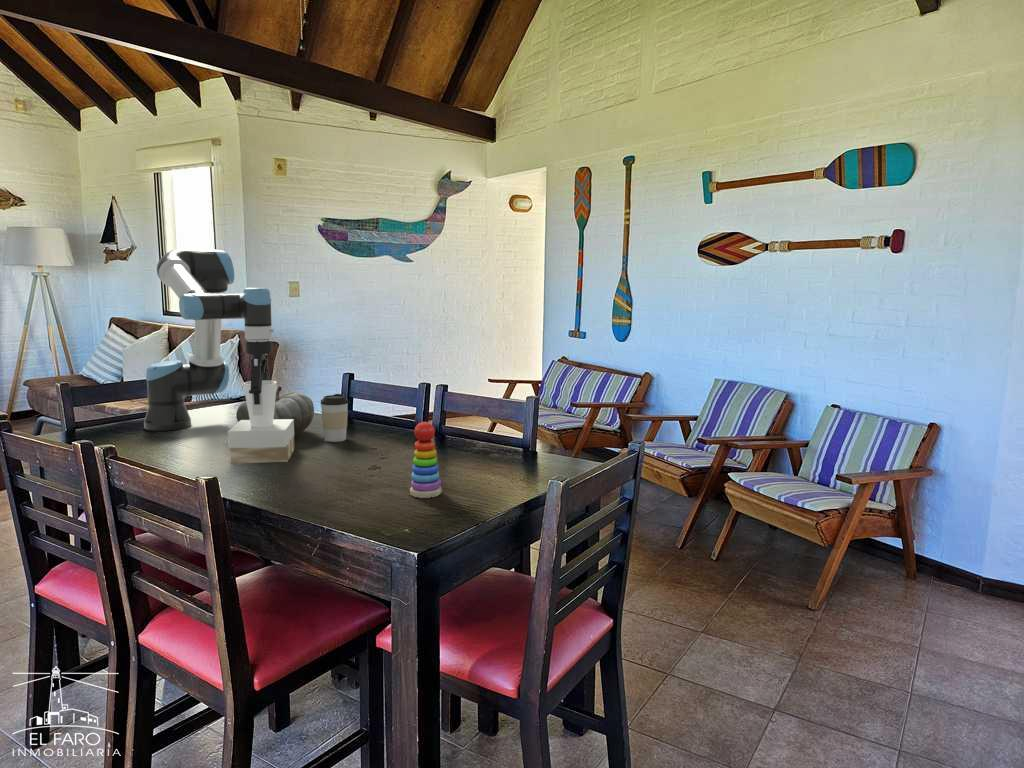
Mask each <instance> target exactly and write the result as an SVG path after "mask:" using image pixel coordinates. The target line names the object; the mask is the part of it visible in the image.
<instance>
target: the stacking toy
mask: <svg viewBox="0 0 1024 768" xmlns="http://www.w3.org/2000/svg"><path fill="white" fill-rule="evenodd" d="M413 433H414V436H415V438H416V439H417V441H415V442H414V448H415V450H414V452H413V453H414V457H413V460H412V462H413V465H412V468H411V469H412V473H411V474H410V476H411V479H412V480H411V482H410V485H411V487H410V489H409V493H410V495H411V496H413V497H414V498H417V497H418V499H430V498H431V497H432V498H435V497H438V496H439V495H441V494H442V492H443V491H442V487H441V484H442V480H441V479H440V478H439V477H440V473H439V471H438V470H439V465H438V464H437V463H438V458H437V450H436V448H435V446H436V443H435V441H434V440H432V439H433V438H434V436H435V434H436V430H435V426H434V425H433V424H432V423H430V422H427V421H422V422H418V423H417V425H416V426H415V427H414V430H413Z"/></svg>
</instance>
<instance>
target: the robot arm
mask: <svg viewBox="0 0 1024 768" xmlns="http://www.w3.org/2000/svg"><path fill="white" fill-rule="evenodd" d="M232 260H233V259H232V258H231V256H230V254H229V253H228V252H227V251H225V250H220V249H203V248H202V249H199V248H193V249H192V248H191V249H190V248H176V249H173V250H170V251H168V252H167V253H165V254H163V255H162V257H160V259H159V260H158V262H157V264H156V273H157V276H158V278H159V280H160V281H161V283H163V284H164V285H165V286H167V287H169V288H170V289H171V290H172V291H173V293H174V294H175V295H176V296H177V297H178V299H179V300H178V309H179V312H180V316H181V318H182V319H183V320H187V321H188V320H190V321H192V320H193V321H194V343H193V345H194V346H193V347H194V348H193V354H192V355H190V357H189V358H188V359H189V360H188V362H189V363H184V362H183V361H182V360H179V359H178V360H177V359H176V360H166V361H160V362H155V363H153V364H150V365H149V366H147V368H146V371H145V373H146V374H145V375H146V376H145V377H146V378H145V380H146V388H147V389H146V390H147V391H146V392H147V404H148V406H147V411H146V415H145V418H144V420H143V426H144V427H143V429H145V430H147V431H152V432H157V431H158V432H163V431H175V430H181V429H185V428H189V427H190V426H192V418H191V416H190V414H189V412H188V408H187V406H186V404H185V397H191V396H203V395H214V394H220V393H223V392H225V390H226V389H227V388H228V385H229V382H230V368H229V364H228V363H227V362H226V361H225V359H224V358H223V356H221V355H220V354H221V338H222V337H221V336H222V335H221V334H222V320H239V319H243V320H244V321H243V322H244V339H245V340H246V341H245V353H246V354H247V355H253V358H251V360H250V362H251V365H250V366H251V369H250V372H251V373H250V381H251V389H250V390H249V394H252V405H253V415H263V399H262V393H261V392H262V391H261V389H262V380H269V381H271V376H270V370H269V369H270V368H269V361H268V360H269V359H268V356H269V355H270V354H272V353H273V350H274V348H273V341H272V339H273V333H274V332H275V330H274V328H272V327H273V326H272V299H271V297H272V296H271V291H270V289H269V288H267V287H245V288H243V292H242V293H241V292H240V293H226V292H227V291H228V285H231V284H234V281H235V268H234V263H233V261H232Z"/></svg>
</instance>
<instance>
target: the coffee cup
mask: <svg viewBox="0 0 1024 768" xmlns="http://www.w3.org/2000/svg"><path fill="white" fill-rule="evenodd" d="M319 404H320V406H321V418H322V419H321V420H322V429H323V433H324V434H323V435H324V441H326V442H330V443H335V442H336V443H338V442H345V440H346V439H347V428H348V414H349V409H348V406H349V405H348V404H349V399H348V398H347V397H346V396H345V395H343V394H341V393H335V394H331V395H325V396H323V398H321V400H320V403H319Z"/></svg>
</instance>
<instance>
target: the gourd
mask: <svg viewBox="0 0 1024 768" xmlns="http://www.w3.org/2000/svg"><path fill="white" fill-rule="evenodd" d="M282 388H283V387H282V386H277V390H276V398H275V409H274V419H294V437H296V436H298V435H300V434H301V433H303V432H304V431H305V430H306V429H307V428H309V426H310V425H311V423H312V422H313V420H314V415H315V406H314V402H313V400H312V399H311V398H310V397H309V396H307V395H305V394H304V393H299V392H297V391H287V392H283V393H282V394H280V392H281V391H282ZM240 420H250V418H249V413H248V407H247V402H246V401H244V402H242V403H241V404H240V405H239V406H238V407H237V410H236V421H237V423H238V422H239V421H240Z"/></svg>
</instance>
